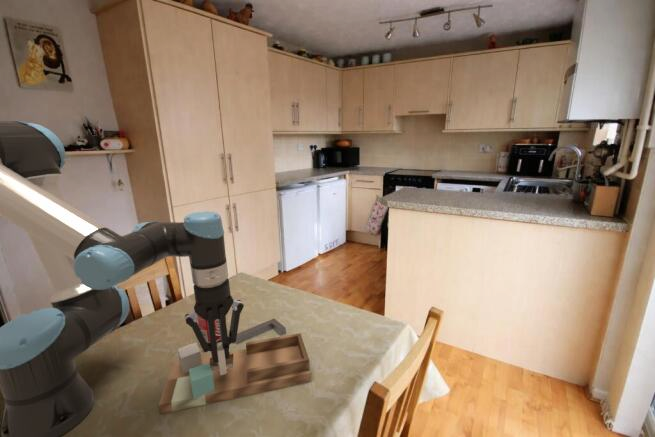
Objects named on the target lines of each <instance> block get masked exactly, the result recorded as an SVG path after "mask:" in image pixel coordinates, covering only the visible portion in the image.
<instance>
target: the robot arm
mask: <svg viewBox="0 0 655 437" xmlns="http://www.w3.org/2000/svg"><path fill="white" fill-rule="evenodd" d="M66 154H67V153H66V151H65V147H64V144H63V143H62V142H61V140H60V139H59V137H58V136H57V135H56V134H55V133H54V132H52V130H50V129H48V128H47V127H44V126H43V125H41V124H38V123H33V122H25V121H20V120H12V121H9V120H6V121H5V120H0V217H1V218H3V219H4V220H6V221H8V222H9V223H11V224H12V225H15V226H17V227H18V228H19V229H21V230H23V231H24V232H26V234H27V235H28V237H29V239H30V241H31V244H32V246H33V248H34V251H35V252H36V254H37V257H38V258H39V261H40V262H41V265H42V267H43V269H44V271H45V274H46V276H47V278H48V279H49V281H50V284H51V286H52V288H53V290H54V293H53V294H52V296H51V298H50V300H49V301H50V304H51V306H52V307H46V308H45V307H44V308H39V309H36V310H33V311H32V312H29V313H24V314H21V315H19V316H17V317H14V318H13V319H11V320H9V321H8V322H6V323H5V324H4V325H2V326H0V392H1V394H2V397H3V399H4V403H5V406H4V411H3V416H2V422H1V428H0V432H1V433H0V435H1V437H61V436H62V435H64V434H66V433H67V432H69V431H70V430H72V429H74V428H75V427H76V426H77V425H79V424H80V423H81V421H83V420H84V419H85V418H86V417H87V415H89V413H90V412H91V410H92V408H93V406H94V403H95V395H94V391H93V388H92V387H91V386H90V384H88V383H87V382H86V380H85V379H84V378H83V376H82V375H81V374H80V373H79V372H78V367H77V365H76V361H75V359H76V358H77V357H79V356H80V355H81V354H83V352H85V351H86V350H88V349H90V348H91V347H92V346H94V345H95V344H97V342H99V341H100V340H102V339H103V338H105V337H106V336H107V335H110V334H111V333H113V332H114V331H115V330H116V329H117V328H118V327H120V325H122V324H123V323H124V322H125V321H126V319H127V317H128V315H129V313H130V301H129V297H128V295H127V293H126V292H125V291H124V289H122V288H120V286H118V285H119V284H121V283H124V282H126V281H127V280H130V278H132V277H133V276H135V275H136V274H138V273H140V272H142V271H143V270H146V269H148V268H149V267H151V266H153V265H154V264H157V263H158V262H160V261H162V260H164V259H166V258H168V257H181V258H183V257H185V258H186V257H188V259H189V264H190V273H191V279H192V283H193V294H194V300H195V303H194V306H193V310H192V311H191V312H190V313H186V314H185V315H184V319H185V323H186V324H187V325H188V326H189V327H190V328H192V331H193V333H194V335H195V337H196V339H197V341H198V342H199V345H200V348H201V349H202V351H203V353H208V352H210V353H211V355H212V359H213V362H214V363H217V362H218V365H217V368H218V370H219V372H220V375H224V374H226V373H227V369H228V368H227V363H226V360H225V359H228V358H229V356H230V354H229V352H230V345H231V344H236V343H235V342H236V338H237V334H238V330H239V325H240V319H241V318H240V317H241V313H242V311H243V309H244V307H245V305H244V304H243V302H242V300H241V299H237V300H235V299H234V298H233V296H232V295H231V287H230V280H229V271H228V262H227V255H226V245H225V244H226V243H225V231H224V227H223V221H222V216H221V215H220V214H219V213H218V212H215V211H198V212H192V213H189V214H187V215H185V216H184V218H183V221H181V222H179V221H177V222H176V221H174V222H173V221H157V220H154V221H149V222H145V221H144V222H140V223H138V224H137V225H135V227H134V229H132V230H131V232H129V233H127V234H124V235H120V234H119V233H117V232H116V231H114V230H112V229H111V228H109V227H106V225H103V224H102V223H101V222H99V221H97V220H95V219H93V218H92V217H90V216H88V215H87V214H85V213H83V212H82V211H80V210H79V209H76V208H75V207H73V206H72V205H70V204H68V203H67V202H66V200H65V199H64V198H65V197H64V196H63V193H62V191H61V190H60V187H59V185H58V184H59V181H60V180H61V178H62V177H63V174H62V172H61V169H62V168H63V167H64V165H65V164H66V160H65V159H66V157H67V156H66ZM231 308H232V310H231V311H232V312H231V319H230V325H229V330H228V328H227V317H226V316H227V315H228V313H229V311H230V309H231ZM197 314H198V315H199V316H200V317H202V318H203V319H204V320H206V321H207V325H208V333H209V340H210V343H207V342H206V340H205V338H204V336H203V333H202V331H201V329H200V327H199V325H198V318H197ZM216 319H219V327H220V334H221V340H220V342H221V343H219V344H218V342H216V334H215V326H214V325H215V324H214V320H216ZM228 331H229V332H228Z"/></svg>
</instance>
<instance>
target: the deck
mask: <svg viewBox="0 0 655 437" xmlns="http://www.w3.org/2000/svg"><path fill="white" fill-rule="evenodd" d="M307 352H308V351H307V349H306V347H305V342H304V340H303V336H302V333H301V332H300V333H295V334H289V335H284V336H283V335H281V336H277V337H272V338H266V339H261V340H255V341H254V340H253V341H250V342H249V341H248V342H245V349H244V348H243V349H240V350H233V351H229V354H230V356H229V358H228V359H225V360H226V364H229V363H232V367H227V368H226V369H227V373H226V374H224V375H220V372H219V369H218V370H211V371H212V374H213V381H214V389H215V391H212V392H210V393H207V394H205V395H202V396H200V397H197V398H195V399H194V397H193V392H192V388H191V382H190V375H189V372H187V373H185V374H183V371H182V369H181V366H180V362H179V360H178V361H174V362H171V365H170V368H169V370H168V374H167V378H166V379H165V380H166V381H165V384H164V387H163V390H162V394H161V397H160V400H159V403H158V408H159V414H160V415H164V414H168V413H173V412H178V411H182V410H186V409H190V408H195V407H200V406H204V405H208V404H213V403H218V402H223V401H226V400H227V401H229V400H231V399H232V400H233V399H236V398H237V399H238V398H241V397H246V396H250V395H255V394H260V393H263V392H268V391H272V390H274V391H275V390H277V389H283V388H287V387H292V386H297V385H302V384H305V383H311V371H310V360H309V359H310V358H309V356H308V353H307ZM201 360H202V365H203V364H206V363H209V364H210V367H211V368H212V367H213V366H218V362H217V363H214V362H213V359H212V354H211V355H206V356H201Z"/></svg>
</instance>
